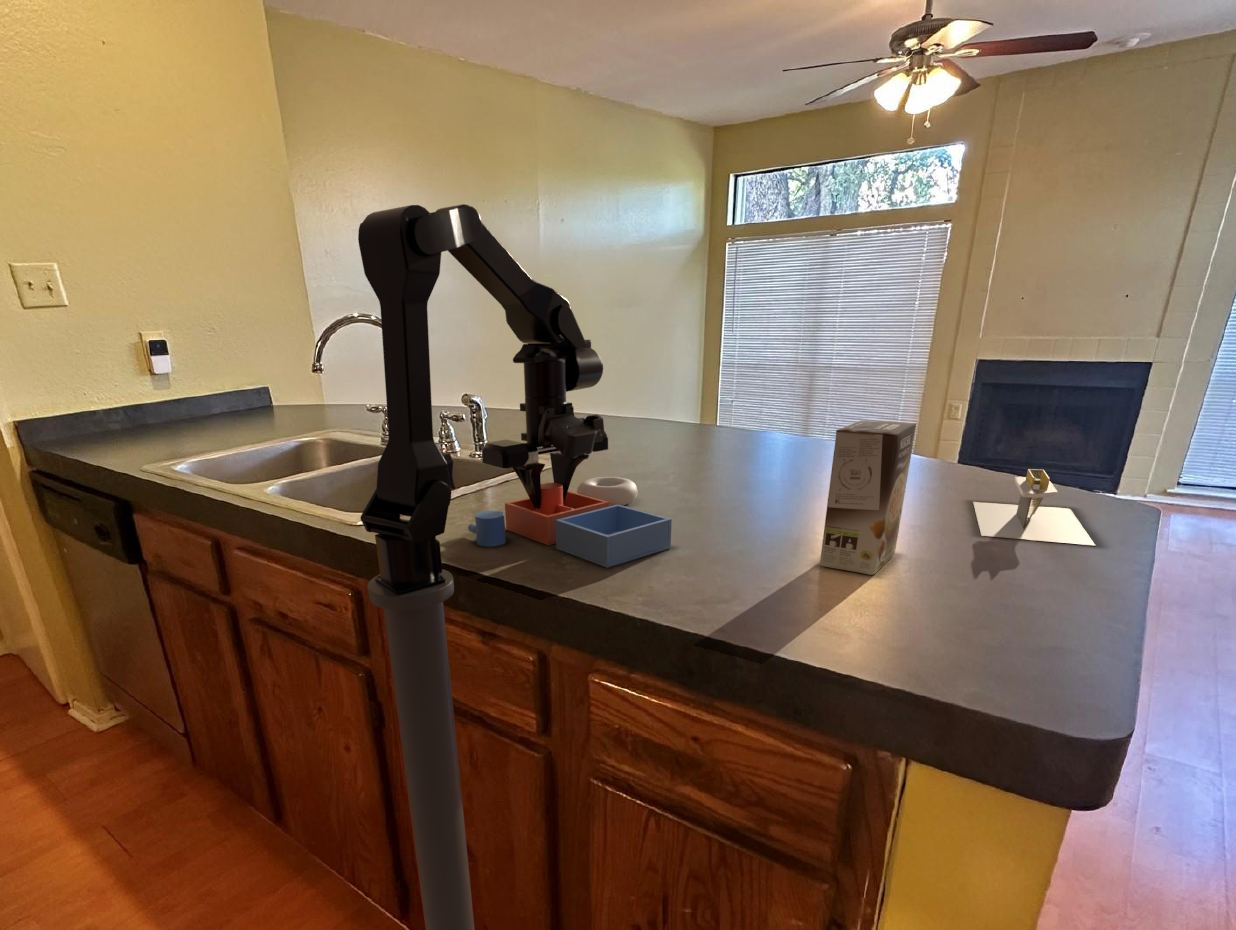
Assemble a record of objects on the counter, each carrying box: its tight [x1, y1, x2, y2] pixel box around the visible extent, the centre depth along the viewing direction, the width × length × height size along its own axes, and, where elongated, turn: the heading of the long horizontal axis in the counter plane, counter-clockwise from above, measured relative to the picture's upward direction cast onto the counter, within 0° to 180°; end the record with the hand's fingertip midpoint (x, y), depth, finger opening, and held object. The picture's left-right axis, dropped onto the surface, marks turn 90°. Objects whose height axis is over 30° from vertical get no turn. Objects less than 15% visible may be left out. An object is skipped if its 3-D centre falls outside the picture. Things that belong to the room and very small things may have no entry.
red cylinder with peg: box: [536, 482, 573, 516], centre depth 99 cm, size 8×4×4 cm, turn 36°
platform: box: [972, 468, 1097, 546], centre depth 94 cm, size 12×18×7 cm, turn 152°
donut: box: [576, 476, 639, 507], centre depth 113 cm, size 10×4×10 cm
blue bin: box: [555, 505, 673, 569], centre depth 91 cm, size 11×10×4 cm
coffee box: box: [819, 420, 917, 576], centre depth 81 cm, size 9×6×16 cm
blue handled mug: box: [467, 510, 507, 548], centre depth 97 cm, size 8×4×4 cm, turn 36°
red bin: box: [504, 490, 609, 546], centre depth 100 cm, size 11×10×4 cm
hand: (549, 505), depth 101 cm, fingers closed on red cylinder with peg, 4 cm apart
